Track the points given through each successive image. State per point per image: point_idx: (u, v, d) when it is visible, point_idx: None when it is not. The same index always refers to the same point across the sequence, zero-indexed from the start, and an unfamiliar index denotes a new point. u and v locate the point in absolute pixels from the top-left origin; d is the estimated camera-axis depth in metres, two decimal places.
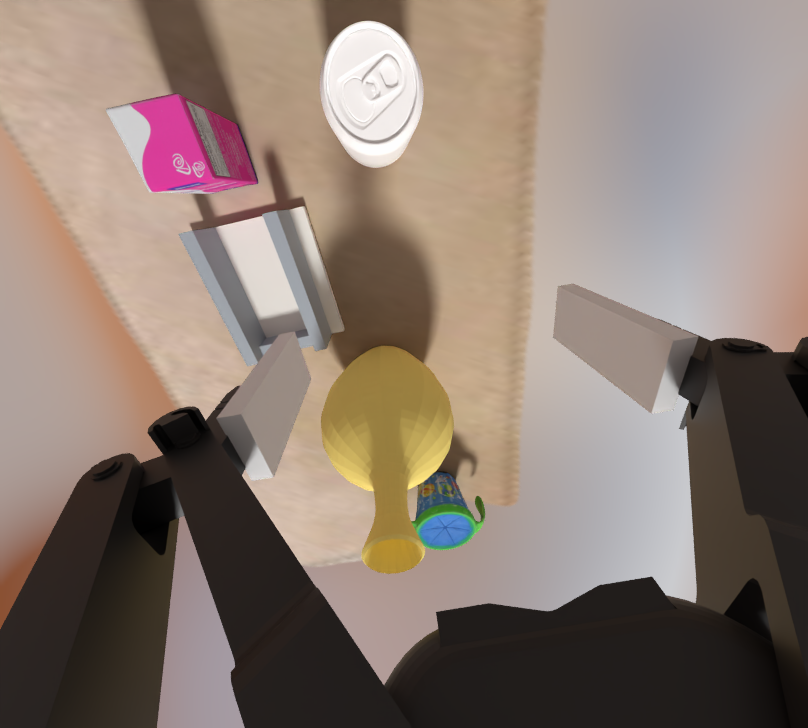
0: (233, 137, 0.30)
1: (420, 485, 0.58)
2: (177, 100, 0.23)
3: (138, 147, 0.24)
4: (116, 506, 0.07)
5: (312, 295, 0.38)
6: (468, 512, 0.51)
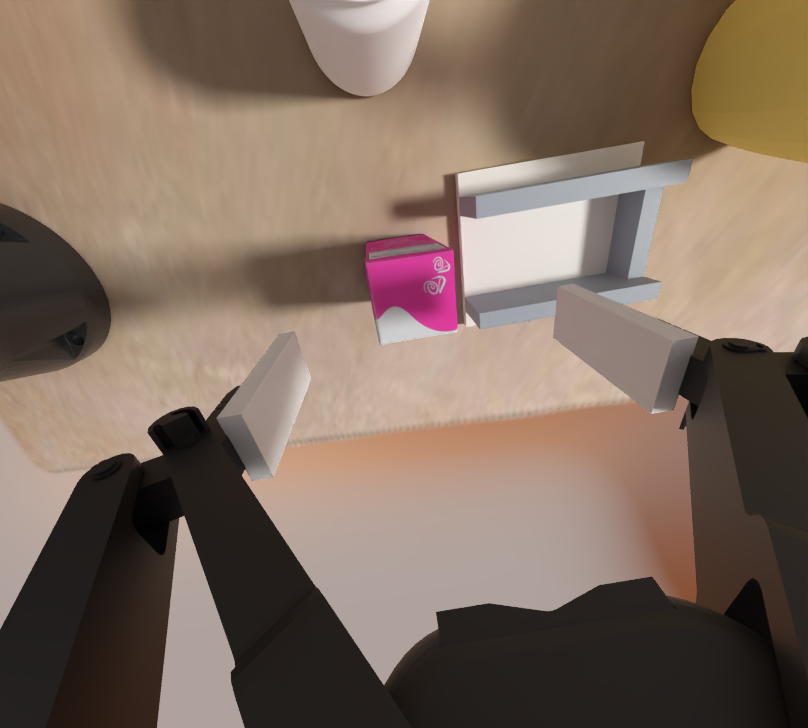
0: (383, 242, 0.26)
1: None
2: (372, 265, 0.19)
3: (414, 326, 0.21)
4: (116, 506, 0.07)
5: (587, 175, 0.24)
6: None
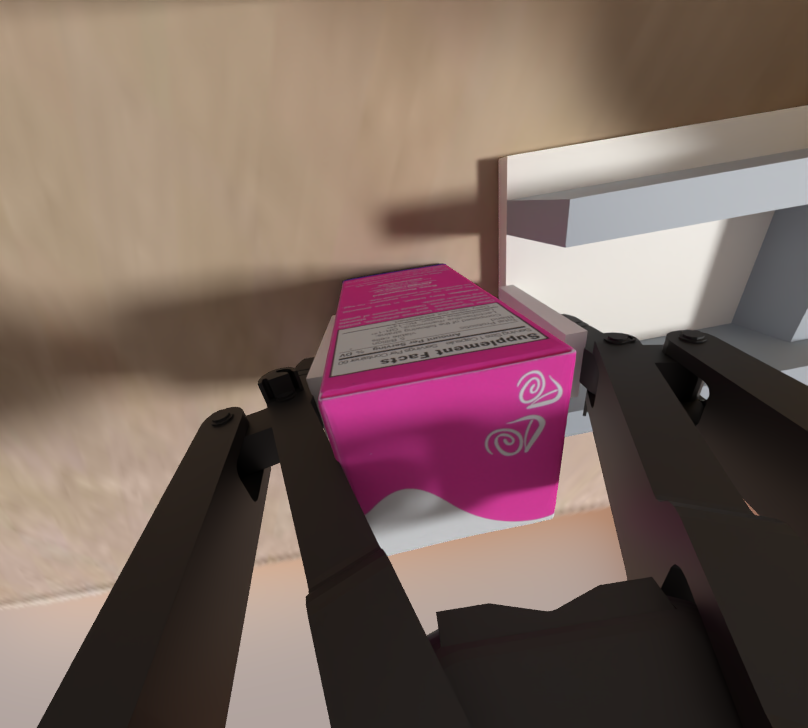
0: (373, 286, 0.13)
1: None
2: (338, 405, 0.06)
3: (455, 519, 0.08)
4: (226, 452, 0.08)
5: (772, 158, 0.12)
6: None
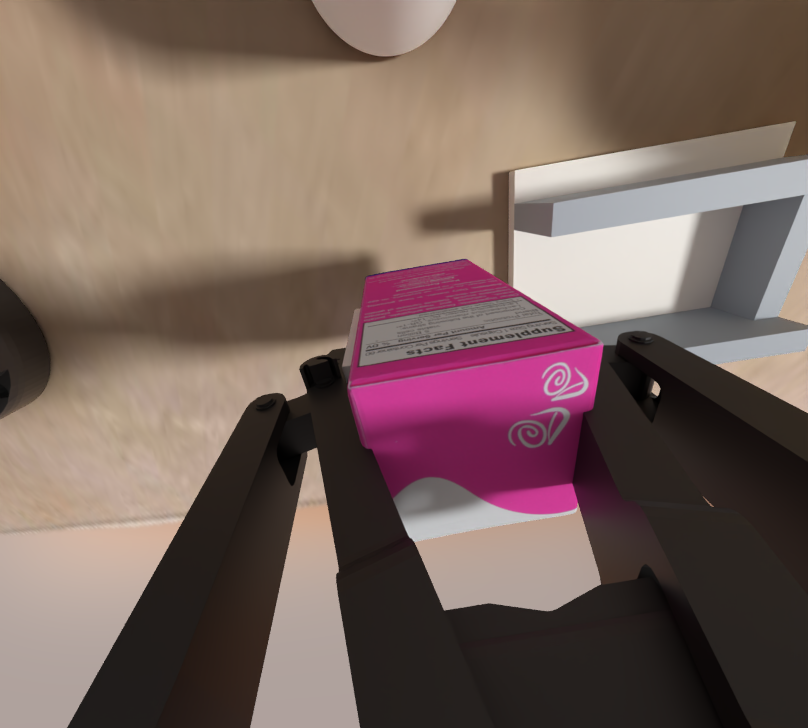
0: (396, 282, 0.14)
1: None
2: (366, 393, 0.06)
3: (477, 509, 0.08)
4: (268, 436, 0.08)
5: (719, 171, 0.16)
6: None
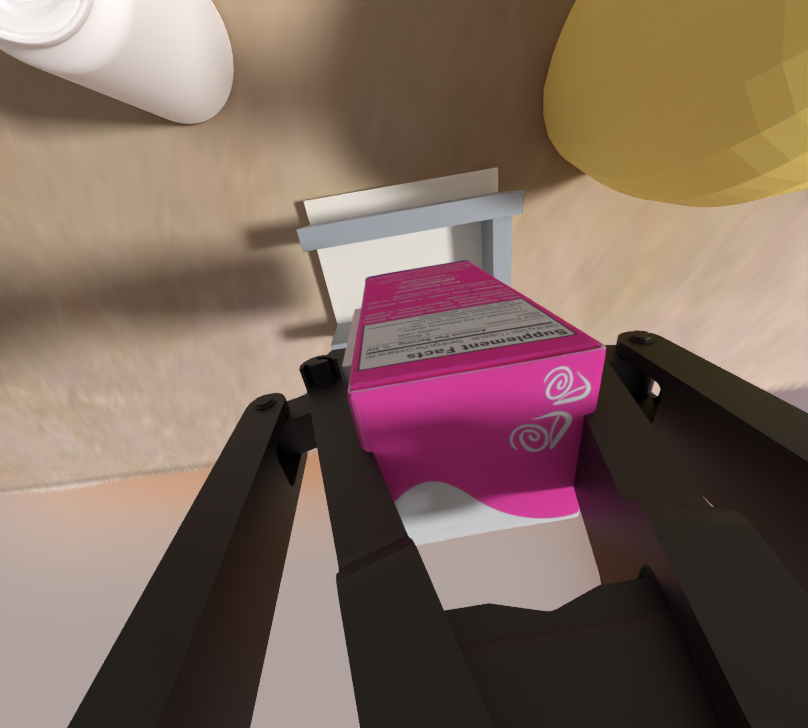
0: (397, 283, 0.14)
1: None
2: (366, 397, 0.06)
3: (478, 514, 0.08)
4: (268, 436, 0.08)
5: (427, 205, 0.23)
6: None
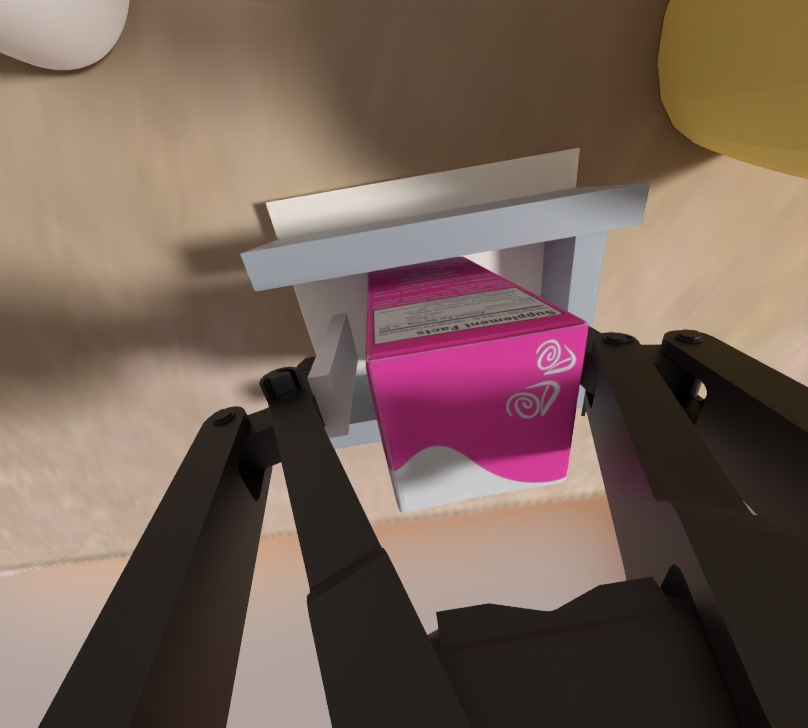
0: (399, 276, 0.15)
1: None
2: (383, 366, 0.07)
3: (477, 478, 0.09)
4: (228, 452, 0.08)
5: (470, 209, 0.14)
6: None
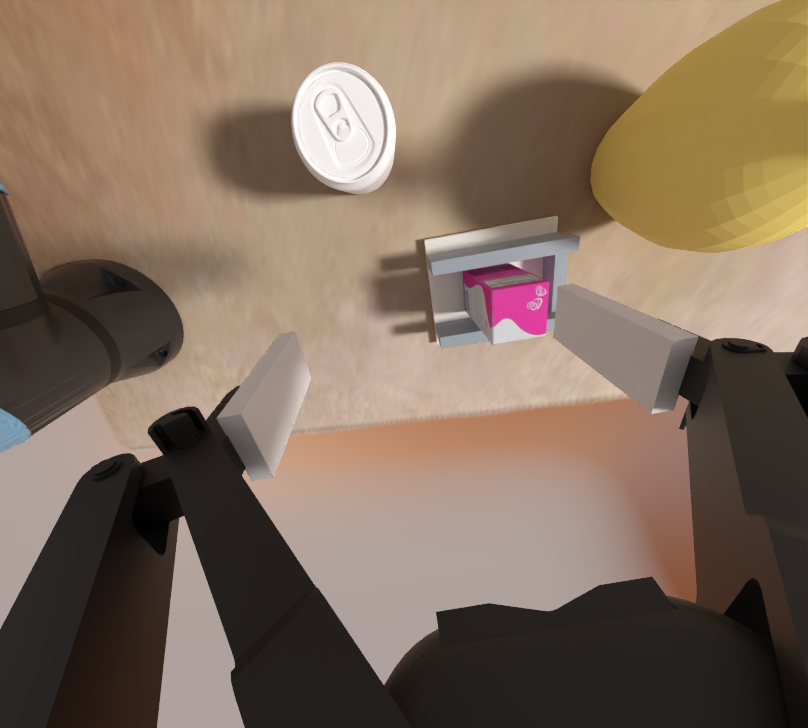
0: (482, 270, 0.36)
1: None
2: (495, 292, 0.28)
3: (517, 331, 0.30)
4: (116, 506, 0.07)
5: (512, 244, 0.35)
6: None
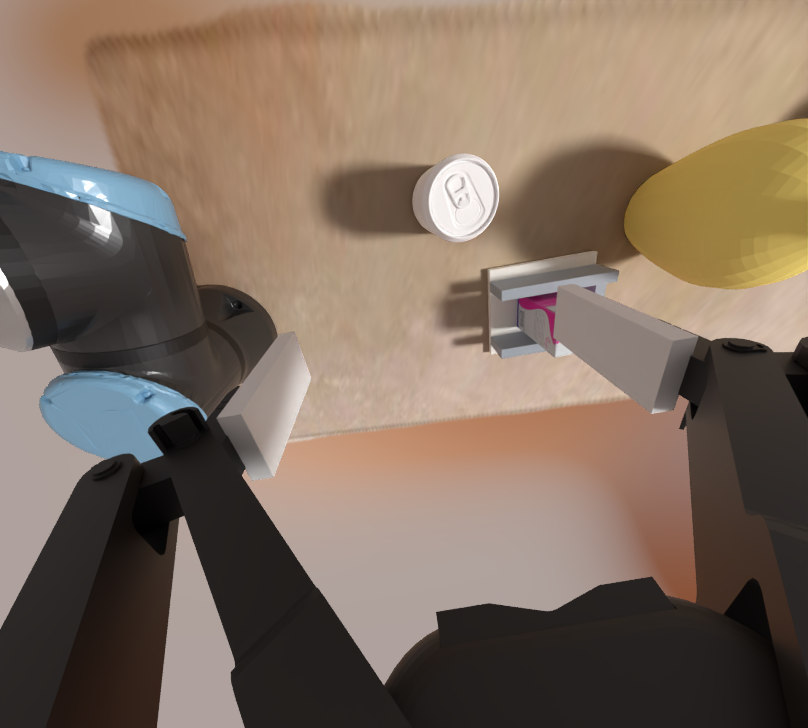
0: (537, 296, 0.44)
1: None
2: None
3: None
4: (116, 506, 0.07)
5: (563, 275, 0.43)
6: None
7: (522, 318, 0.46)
